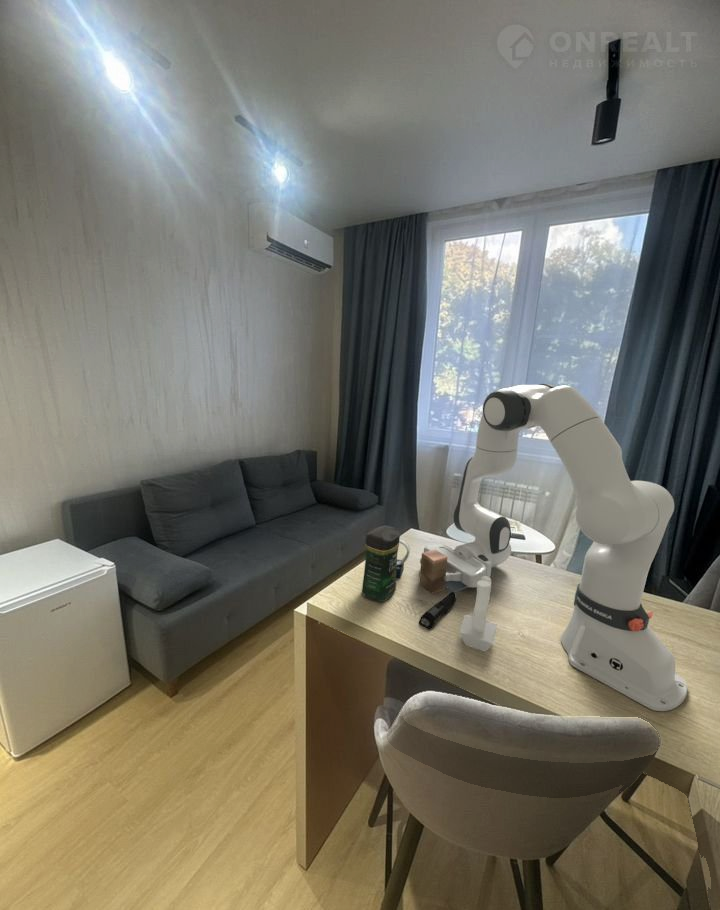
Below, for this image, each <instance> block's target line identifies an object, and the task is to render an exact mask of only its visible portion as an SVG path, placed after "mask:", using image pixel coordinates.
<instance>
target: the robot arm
mask: <svg viewBox="0 0 720 910" xmlns="http://www.w3.org/2000/svg"><path fill="white" fill-rule="evenodd" d="M536 427H540V428H541V429H542V431H543V432H544V433H545V435H546V436H547V438H548V440H549V443H550V444H551V445H552V447H553V449H554V451H555V452H556V454H557V455H558V457H559V459H560V461H561V462H562V464H563V465H564V467H565V469H566V472H567V473H568V476H569V478H570V481H571V483H572V487H573V492H574V495H575V500H576V505H577V506H576V510H575V511H576V512H575V520H576V524H577V527H578V528H579V530H580V531H581V532H582V534H584V535H585V537H587V538H588V539H589V540H591V541H593V542H592V544H591V546H590V547H589V548H588V550H587V551H586V554H585V556H584V561H583V566H582V567H583V568H582V571H581V576H580V577H581V578H580V581H579V583H578V584H577V587H576V590H575V594H574V599H573V601H574V602H573V611H572V614H571V617H570V619H569V621H568V625H567V626H566V628H565V630H564V631H563V633H562V634H561V638H560V641H561V645H562V647H563V648H564V650H565V651H566V653H567V655H568V660H569V661H568V662H569V664H570V665H571V666H572V667H574V668H576V669H577V670H579V671H581V672H582V673H584V674H587V676H590V677H591V678H593V679H595V680H597V681H599V682H601V683H602V684H604V685H606V686H608V687H610V688H611V689H614V690H615V691H617V692H619V693H620V694H622V695H624V696H626V697H628V698H629V699H632V700H633V701H635V702H637V703H638V704H641V705H642V706H645V707H646V708H648V709H650V710H652V711H657V712H666V711H667V712H668V711H671V710H674V709H675V708H677V707H678V706H680V705H682V703H683V702H684V701H685V699H686V698H687V695H688V685H687V682H686V680H685V679H684V677H682V676H681V675H679V674H678V673H676V660H675V657H674V654H673V653H672V651H671V650H670V649H669V648H668V647H667V646H666V645H665V644H664V642H663V641H662V640H661V639H660V637H659V636H658V635H656V633H655V632H654V631H653V630H652V628H651V627H650V626H649V623H650V619H652V618H653V617H652V616H653V613H654V612H653V611H650V612H648V613H647V612H646V610H645V608H644V607H643V605H642V599H643V594H644V592H645V591H644V590H645V585H646V582H647V577H648V574H649V571H650V568H651V566H652V563H653V561H654V559H655V557H656V554H657V552H658V550H659V547H660V544H661V543H662V541H663V538H664V535H665V533H666V529H667V526H668V524H669V521H670V519H671V517H672V516H673V513H674V511H675V500H674V498H673V495H671V493H670V491H668V489H666V488H665V487H664V486H662V485H660V484H658V483H655V482H652V481H645V480H631V479H630V477H629V475H628V472H627V469H626V467H625V463H624V460H623V450H622V447H621V446H620V444H619V442H618V441H617V440H616V438H615V437H614V435H613V434H612V432H611V431H610V429H609V428H608V426H607V425H606V424H605V422H604V421H603V419H602V418H601V416H600V415H599V414H598V411H596V409H595V408H594V407H593V406H592V404H591V403H590V402H589V401H588V400H587V399H586V398H585V397H584V395H582V394H581V392H579V391H578V390H577V389H576V388H574V387H572V386H570V385H559V386H555V385H552V384H547V383H539V384H520V385H515V386H510V387H503V388H500V389H497V390H495V391H493V392H491V393H489V394H488V395H487V396H486V397H485V399H484V401H483V403H482V415H481V418H480V420H479V424H478V430H477V434H476V435H477V437H476V444H475V451H474V454H473V456H472V457H471V458H469V459H468V461H467V462H466V464H465V468H464V471H463V475H462V480H461V486H460V490H459V494H458V495H459V496H458V500H457V503H456V506H455V509H454V510H453V516H452V518H453V523H454V526H455V527H456V529H457V530H458V531H461V532H463V533H466V534H468V535H470V536H472V537H474V541H471V542H467V543H464V544H460V545H457V546H456V547H455V548H454V549H453V548H451V547H449V546H448V545H446V544H445V543H433V544H427V545H425V546H424V547H423V553H424V552H427V551H431V550H437V551H439V552H440V553H442V554H444V555H445V556H447V557H448V558H447V567H446V573H444V574H443V579H444V580H445V581H450V580H451V581H461V582H462V583H464V584H465V585H467V586H468V588H474V589H475V588H477V582H478V581H481V578H482V577H483V576H487V577H489V578H490V579H491V573H492V568H494V567H497V566H499V565H501V564H503V563H504V562H506V561H507V560H508V559H509V557H510V556H511V554H512V546H511V545H512V544H511V542H510V541H511V537H512V528H511V525H510V521H509V520H508V518H507V517H506V516H503V515H501V514H500V513H497V512H494V511H492V510H490V509H489V508H486V507H483V506H481V504H479V502H478V496H479V493H480V492H479V491H480V487H481V484H482V480H483V479H484V478H494V477H499V476H501V475H505V474H506V473H508V472H510V471H511V470H512V469H513V467H515V464H516V460H517V456H518V447H519V446H518V442H519V435H520V432H521V431H522V430H523V429H526V430H528V429H532V428H536ZM419 564H421V558H420V560H419Z"/></svg>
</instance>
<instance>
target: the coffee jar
mask: <svg viewBox="0 0 720 910" xmlns="http://www.w3.org/2000/svg"><path fill="white" fill-rule="evenodd" d="M400 537H401V536H400V532H399V530H398V529H397V528H395V527H392V526H389V525H386V524H384V525H382V526H378V527H376V528H374V529H372V530H371V531H369V532H367V533H366V536H365V542H364V543H365V544H364V545H365V546H364V547H365V561H364V562H365V563H364V571H363V580H362V588H361V589H362V590H361V593H362V595H364V596H365V597H366V598H367V599H369V600H371V601H376V602H385V601H386V600H388V599H389V598H390V597H392V595H393V594H394V593H395V592H396V587H397V578H396V567H397V559H398V552H399V546H400V543H399V540H400Z"/></svg>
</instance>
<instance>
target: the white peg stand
mask: <svg viewBox="0 0 720 910" xmlns="http://www.w3.org/2000/svg"><path fill="white" fill-rule="evenodd" d="M491 591H492V579H491V577H490V578H489V577H487V576H483V577H482V578H481V581H478V582H477V587H476V597H475V605H474V606H473V607H474V608H473V612H472V616H471V615H469V614H464V617H463V619H462V622H461V626H460V629H459V631H458V632H459V635H460V637H461V639H462V640H463V641H462V642H463V644H464V645H465V646H467V647H470V648H473V649H476V650H479V651H482V652H484V653H486V652H487V650H489V649H490V648H491V647H492V646H493V645H494V643H495V639H496V638H495V637H496V633H497V626H498V623H494V622H492V621H488V620H487V614H488V609H489V608H488V607H489V602H490V599H491V597H490V596H491V593H492V592H491Z"/></svg>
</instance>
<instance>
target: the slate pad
mask: <svg viewBox="0 0 720 910" xmlns="http://www.w3.org/2000/svg"><path fill="white" fill-rule="evenodd" d="M444 588H446V589H447V590H448V591H450V593H451V592H455V593H456V592H460V591H462V590H465V589H468V588H469V587H468V586H467V585H465V584H464V583H462V582H461V581H451V580H450V581H445V586H444Z"/></svg>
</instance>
